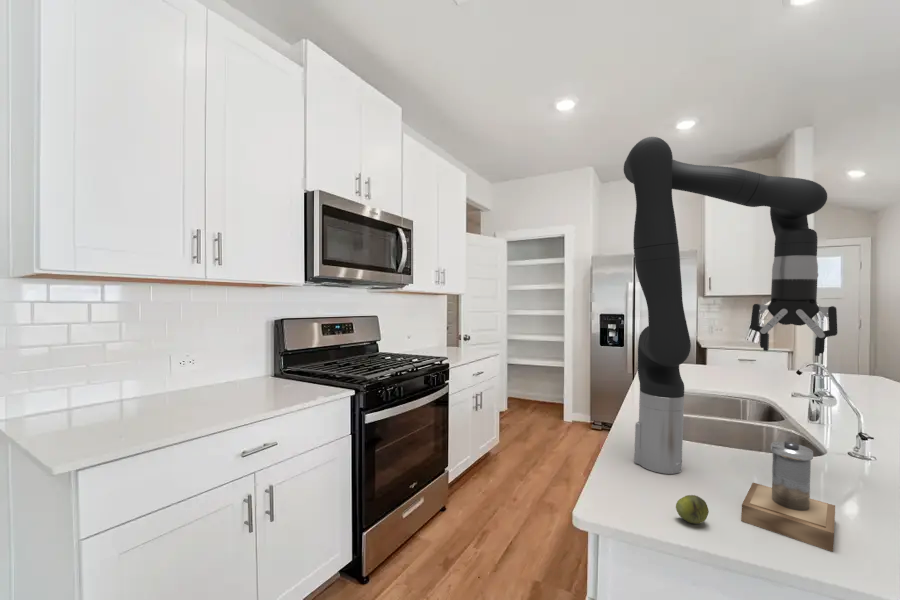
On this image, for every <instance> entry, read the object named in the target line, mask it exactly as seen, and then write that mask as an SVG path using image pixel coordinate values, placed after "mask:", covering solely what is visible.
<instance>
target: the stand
mask: <svg viewBox="0 0 900 600" xmlns="http://www.w3.org/2000/svg"><path fill="white" fill-rule="evenodd" d="M740 514H741V515H740V516H741V518H740V521H741V522H744V523H746V524H749V525H752V526H756V527H759V528H760V529H764V530H767V531H770V532H773V533H776V534H779V535H781V536H785V537H787V538H791V539H794V540H797V541H799V542H803V543H806V544H808V545H812V546H815V547H817V548H820V549H824V550H827V551H829V552H832V553H834V541H835V539H834V538H835V521H836V520H835V519H836V518H835V517H836V505H835V504H832V503H828V502H824V501H820V500H817V499H814V498H810V507H809V509H808V510H806V511H798V510H792V509H788V508H785V507H783V506H780V505H778V504H777V503H775V502H774V501H773V500H772V486H767V485H763V484H760V483H757V482H752V483H751V485H750V487H749V489H748V491H747V493H746V494H745V497H744V499H743V501H742V503H741V513H740Z"/></svg>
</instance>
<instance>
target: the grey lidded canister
mask: <svg viewBox="0 0 900 600" xmlns="http://www.w3.org/2000/svg"><path fill="white" fill-rule="evenodd" d="M770 451H771V452H772V464H771V465H772V468H771V469H772V470H771V488H772V500H773V501H774V502H775V503H777V504H778V505H780V506H783V507H785V508H788V509H792V510H798V511H806V510H808V509H809V507H810V499H811V497H810V496H811V464H812V460H813V459H814V451H813V450H812V449H811V448H809V447H808V446H804V445H801V444H800V443H797V442H794V441H790V440H789V441H773V442H771V443H770Z"/></svg>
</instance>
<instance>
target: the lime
mask: <svg viewBox="0 0 900 600" xmlns="http://www.w3.org/2000/svg"><path fill="white" fill-rule="evenodd" d="M676 501H677V502H676V503H675V509H676V512H677V514H678V515H679V517H680V518H681V519H682V520H684V521H685V522H687V523H689V524H702V523H704V522H705V521H706V520H707V518H708V515H709V508H708V507H709V506H708V504H707V502H706V501H705V500H704V499H703V498H701V497H700V496H698V495H695V494H694V495H693V494H689V495H684V496H683V497H681V498H679V499H678V500H676Z"/></svg>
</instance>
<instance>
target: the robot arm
mask: <svg viewBox="0 0 900 600" xmlns="http://www.w3.org/2000/svg"><path fill="white" fill-rule="evenodd" d="M673 158H674V157H673V152H672V149H671V147H670V145H669V143H668V142H667V141H665V140H664V139H662V138H660V137H657V136H647V137H645V138H642V139H640V141H638V142H637V143H636V144H635V145H633V147H632V148H631V150H630V151H629V153H628V155H627V157H626V159H625V161H624V164H623V174H624V177H625V178H626V179H627V181H629V183H630V184H633V187H634V193H635V201H636V202H635V205H636V207H635V216H634V217H635V218H634V227H633V254H634V265H635V270H636V271H635V272H636V275H637V278H638V281H639V285H640V287H641V290H642V292H643V296H644V298H645V302H646V307H647V315H648V316H647V318H648V319H647V321H648V325H647V326H646V327H645V328H643V329H642V331H641V333H640V335H639V337H638V343H637V377H638V380H639V381H638V382H639V403H638V405H639V407H638V408H639V409H638V421H637V422H635V426H634V429H635V431H634V457H633V458H634V461H633V463H634V464H636V465H637V464H638V465H639V466H641V467H642V468H644V469H647V470H648V471H652V472H655V473H659V474H664V475H665V474H667V475H668V474H669V475H673V474H678V473H679V474H680V472H681V471H682V467H683V443H684V442H683V441H684V439H683V438H684V410H685V409H684V408H685V407H684V406H685V384H684V383H685V382H684V381H683V379H682V377H681V376H682V375H681V371H680V366H681V365H682V364H683V363H684V362H686V361H687V359H688V357H689V355H690V353H691V348H692V347H691V346H692V345H691V343H692V342H691V337H690V332H689V328H688V324H687V319H686V313H685V309H684V302H683V284H682V283H683V282H682V273H681V272H682V271H681V255H680V246H679V245H680V244H679V237H678V231H677V229H678V228H677V222H676V220H677V219H676V214H675V209H674V204H673V202H674V201H673V190H674V191H675V190H676V191H683V192H687V193H693V194H696V195H697V194H698V195H703V196H706V197H709V198H712V199H713V198H714V199H718V200H721V201H725V202H728V203H733V204H737V205H740V206H744V207H750V208H758V207H767V208H768V207H769V213H770V214H769V215H770V221H771V226H772V227H771V228H772V231H773V234H774V235H773V236H774V250H773V252H774V253H773V257H774V258H773V263H772V268H771V287H770V288H771V289H770V290H771V293H770V302H769V304H761V303H754V304H753V305H752V310H751V319H750V326H749V327H750V329H751V331H755V332H758V333H759V334H760V335H759V337H760V338H759V347H760V348H761V349H762V350H763V351H764V352H768V351H769V348H770V347H769V346H770V333H769V332H770V331H771V330H772V329H773V328H774V327H775V326H776V325H777V324H780V325H782V326H783V325H785V326H788V325H789V326H790V325H794V326H798V327H799V326H800V327H801V326H805V325H806V326H807V327H808V328H809V329H810V330H811V331H812V332H813V333H814V334H815V335H816V337H815V341H814V342H815V344H814V345H815V346H814V356H815V357H820V354H824V352H825V344H826V342H825V341H826V338H829V337H833V336H837V335H838V314H837V313H838V312H837V311H838V310H837V307H836V306H834V305H830V306H819V305H818V303H817V299H818V298H817V297H818V277H819V265H818V263H819V262H818V233H817V232H816V231H815V229H812V228H810V227H809V221H808V216H810V215H812V214H815V213H817V212H818V211H820V210H821V209H823V207H824V206H825V205H826V202H827V201H828V192H827V190H826V189H825V188H824V186H822V185H821V184H820V183H818V182H815V181H814V180H810V179H806V178H799V177H788V176H787V177H786V176H777V175H776V176H774V175H773V176H771V175H766V174H762V173H759V172H756V171H755V172H754V171H752V170H746V169H742V168H737V167H729V166H719V165H717V166H715V165H700V164H699V165H698V164H693V163H685V162H681V161H678V160H675V159H673ZM766 310H767V311H768V312H769V313H770V315H772V318H771V319H770V320H769V321H768V322H767V323H765V325H764V326H761V325H760V318H761V315H762V314H764V313H765V311H766ZM819 312H821V313H822V314H823V316H824V317H825V318H828V329H827V330H823V329H822V328H821V327H820V326H819V325H818V324H817V323H816V321H815V320H814V319H813V318H815V316H816V315H817V314H818V313H819Z"/></svg>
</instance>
